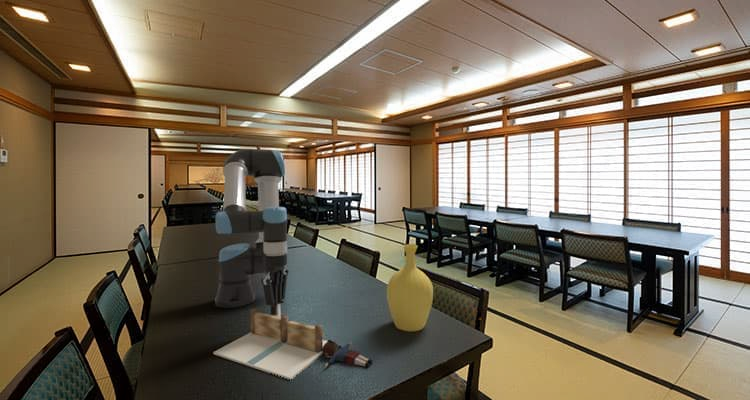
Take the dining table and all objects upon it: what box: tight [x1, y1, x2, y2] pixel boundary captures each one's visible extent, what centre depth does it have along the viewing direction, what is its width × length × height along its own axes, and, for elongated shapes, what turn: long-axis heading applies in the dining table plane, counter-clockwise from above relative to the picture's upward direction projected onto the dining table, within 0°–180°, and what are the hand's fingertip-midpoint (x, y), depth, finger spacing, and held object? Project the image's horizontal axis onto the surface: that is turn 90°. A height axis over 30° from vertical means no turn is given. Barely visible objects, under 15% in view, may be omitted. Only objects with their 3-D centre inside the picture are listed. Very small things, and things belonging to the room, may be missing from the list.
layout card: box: [212, 331, 328, 381], centre depth 97 cm, size 28×20×1 cm
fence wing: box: [250, 308, 289, 342], centre depth 103 cm, size 15×2×7 cm, turn 65°
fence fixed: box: [288, 320, 324, 352], centre depth 97 cm, size 12×2×7 cm, turn 65°
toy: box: [322, 339, 373, 369], centre depth 91 cm, size 14×5×15 cm
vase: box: [386, 243, 434, 332], centre depth 113 cm, size 16×16×28 cm
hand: (275, 323), depth 109 cm, fingers closed
